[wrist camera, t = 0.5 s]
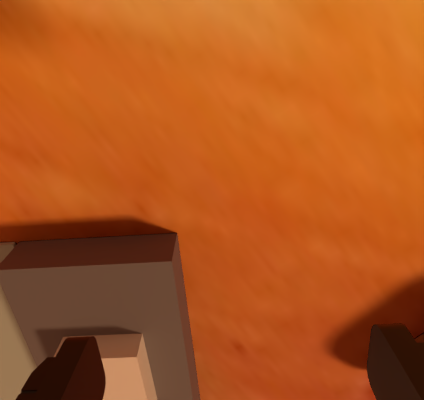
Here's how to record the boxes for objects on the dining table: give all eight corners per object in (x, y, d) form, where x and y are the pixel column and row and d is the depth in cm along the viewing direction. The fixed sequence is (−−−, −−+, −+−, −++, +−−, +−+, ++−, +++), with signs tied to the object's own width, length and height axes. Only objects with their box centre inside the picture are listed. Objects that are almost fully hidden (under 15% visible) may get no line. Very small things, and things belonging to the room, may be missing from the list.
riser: (19, 241, 31) (-6, 270, 27) (177, 233, 30) (171, 261, 27) (84, 409, 42) (71, 445, 38) (201, 405, 41) (199, 441, 38)
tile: (63, 336, 31) (51, 360, 29) (142, 333, 30) (136, 357, 28) (87, 401, 35) (78, 426, 33) (157, 399, 34) (153, 424, 32)
